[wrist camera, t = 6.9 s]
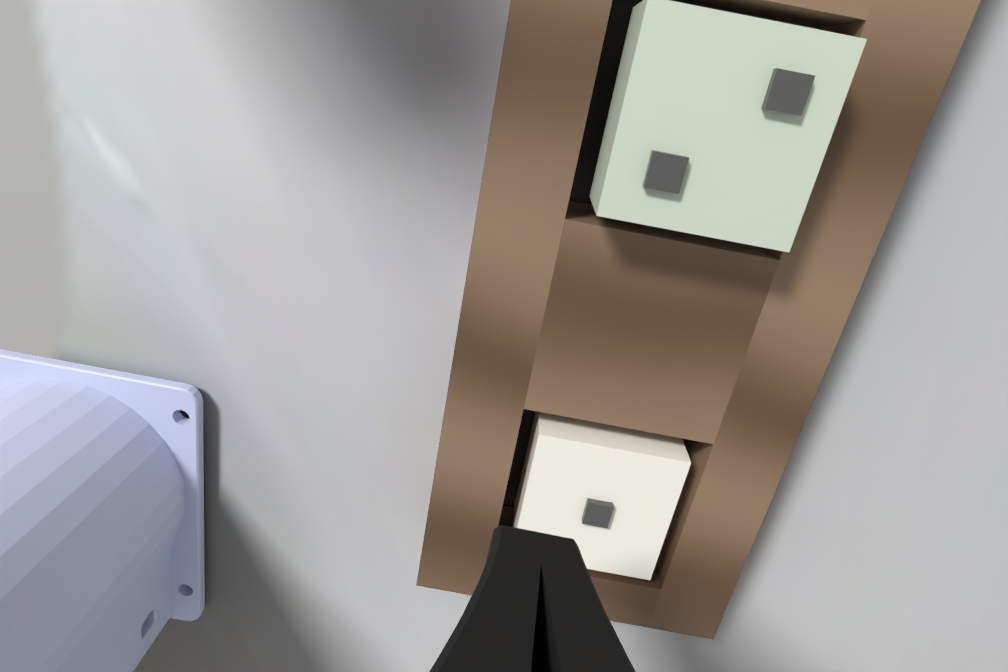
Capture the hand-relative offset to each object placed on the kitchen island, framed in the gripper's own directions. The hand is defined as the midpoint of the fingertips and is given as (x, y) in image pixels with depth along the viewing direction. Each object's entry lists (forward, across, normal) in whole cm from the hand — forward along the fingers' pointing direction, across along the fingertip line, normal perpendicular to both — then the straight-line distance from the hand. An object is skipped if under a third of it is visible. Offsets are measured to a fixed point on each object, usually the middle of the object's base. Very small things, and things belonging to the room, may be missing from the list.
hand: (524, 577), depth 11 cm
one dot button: (+8, -2, +3) cm, 9 cm away
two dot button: (+7, -2, -7) cm, 10 cm away
